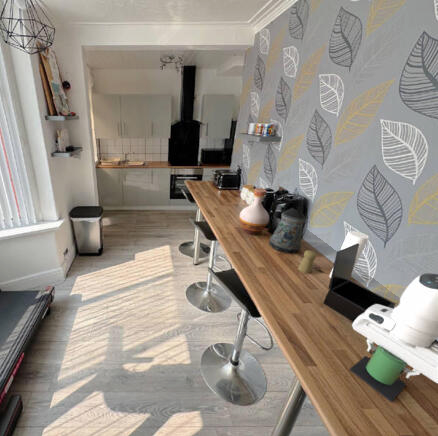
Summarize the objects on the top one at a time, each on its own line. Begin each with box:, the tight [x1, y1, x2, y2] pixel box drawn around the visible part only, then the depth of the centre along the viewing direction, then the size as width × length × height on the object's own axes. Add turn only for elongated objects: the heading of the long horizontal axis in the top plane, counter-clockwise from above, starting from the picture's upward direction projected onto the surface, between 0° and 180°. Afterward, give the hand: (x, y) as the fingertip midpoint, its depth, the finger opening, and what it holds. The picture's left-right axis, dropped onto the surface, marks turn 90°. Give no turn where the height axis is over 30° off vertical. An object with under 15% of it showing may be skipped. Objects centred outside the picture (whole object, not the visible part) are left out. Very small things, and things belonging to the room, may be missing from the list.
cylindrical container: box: [329, 230, 370, 279], centre depth 109 cm, size 7×7×25 cm
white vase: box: [239, 187, 270, 236], centre depth 154 cm, size 20×18×30 cm
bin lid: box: [328, 244, 359, 290], centre depth 96 cm, size 16×16×1 cm
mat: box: [349, 355, 407, 403], centre depth 71 cm, size 10×10×1 cm
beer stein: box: [269, 206, 307, 255], centre depth 138 cm, size 16×19×25 cm
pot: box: [366, 345, 409, 385], centre depth 68 cm, size 7×7×10 cm
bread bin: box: [323, 279, 396, 323], centre depth 94 cm, size 16×16×8 cm
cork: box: [297, 249, 318, 274], centre depth 118 cm, size 6×6×11 cm
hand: (386, 362), depth 68 cm, fingers closed on pot, 6 cm apart
